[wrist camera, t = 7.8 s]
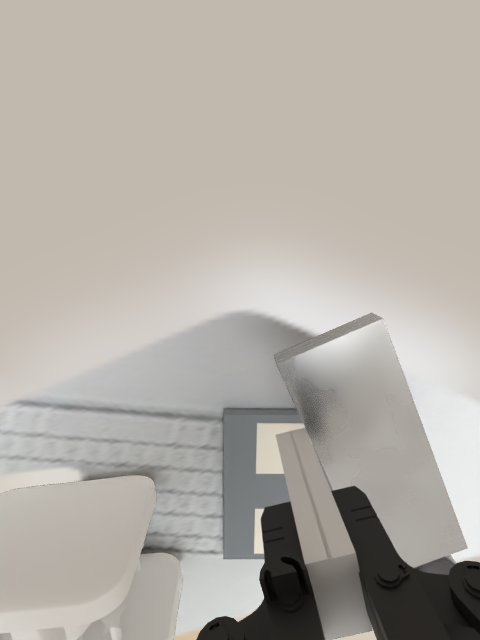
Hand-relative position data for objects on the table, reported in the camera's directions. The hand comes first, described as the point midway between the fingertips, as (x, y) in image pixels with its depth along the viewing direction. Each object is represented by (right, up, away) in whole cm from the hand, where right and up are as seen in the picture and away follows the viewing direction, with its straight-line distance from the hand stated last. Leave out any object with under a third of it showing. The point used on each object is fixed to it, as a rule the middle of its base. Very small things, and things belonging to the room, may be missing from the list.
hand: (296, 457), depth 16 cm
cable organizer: (-16, -12, +16) cm, 25 cm away
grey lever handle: (+4, -1, +1) cm, 5 cm away
